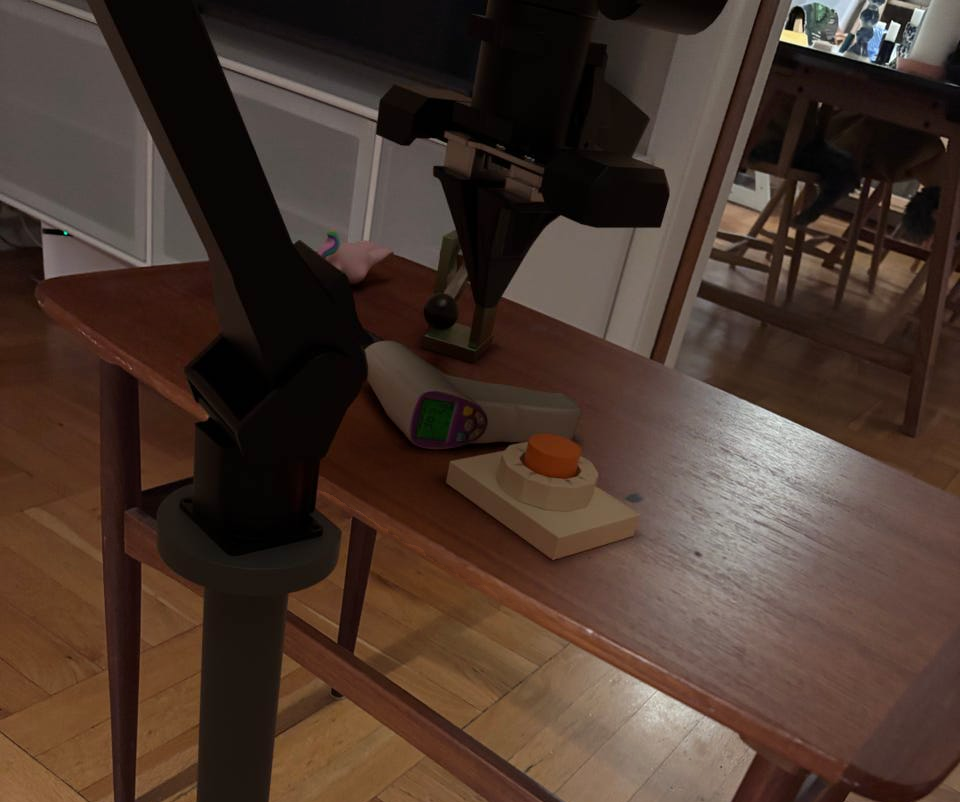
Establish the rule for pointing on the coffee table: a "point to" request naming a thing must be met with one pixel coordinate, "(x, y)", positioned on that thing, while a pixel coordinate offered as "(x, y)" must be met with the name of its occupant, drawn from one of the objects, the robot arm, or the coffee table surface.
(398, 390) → the infrared thermometer
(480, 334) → the switch bracket
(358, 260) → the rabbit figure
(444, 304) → the switch lever
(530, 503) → the button box
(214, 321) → the coffee table surface
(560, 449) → the button
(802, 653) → the coffee table surface
